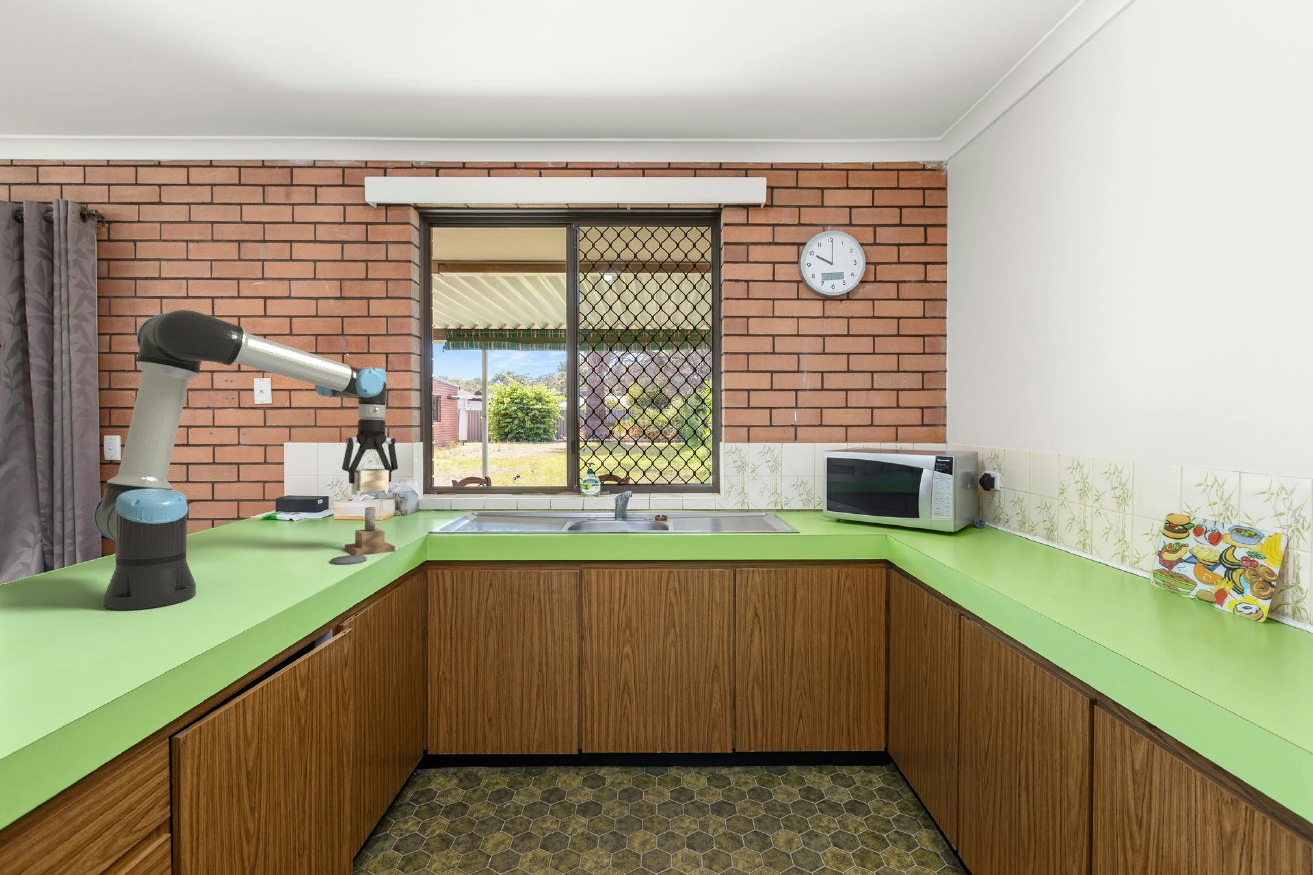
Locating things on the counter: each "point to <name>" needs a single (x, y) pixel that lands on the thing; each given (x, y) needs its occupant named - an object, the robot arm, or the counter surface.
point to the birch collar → (372, 479)
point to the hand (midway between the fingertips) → (370, 493)
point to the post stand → (369, 538)
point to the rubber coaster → (348, 559)
